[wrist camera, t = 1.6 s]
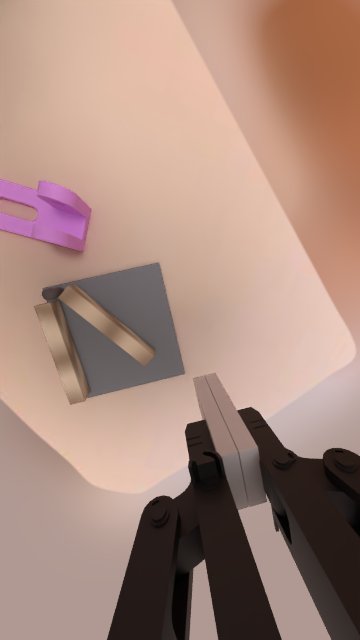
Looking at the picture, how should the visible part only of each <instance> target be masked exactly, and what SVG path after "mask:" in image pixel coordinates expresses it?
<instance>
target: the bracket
mask: <svg viewBox="0 0 360 640" xmlns="http://www.w3.org/2000/svg"><path fill="white" fill-rule="evenodd" d="M0 199H7V200H10V201H14V202H17V203H21V204H24V205H27V206H31V207H34V208H36V210H37V212H38V216H37V218H36V219H35V220H34V221H28V220H24V219H21V218H17V217H14V216H10V215H7V214H3V213H0V229H2V230H6V231H9V232H13V233H17V234H20V235H24V236H27V237H31V238H35V239H38V240H42V241H46V242H49V243H53V244H57V245H60V246H64V247H67V248H71V249H75V250H78V251H82V252H83V251H84V245H85V240H86V234H87V229H88V224H89V218H90V213H91V208H90V207H89V206H88V205H87V204H86V203H85V202H84V201H83V200H82V199H81V198H80V197H79V196H78V195H77V194H75V193H74V192H72V191H70V190H68V189H66V188H64V187H62V186H59V185H57V184H54V183H51V182H47V181H39V185H38V190H35V189H31V188H28V187H25V186H22V185H18V184H15V183H12V182H8V181H5V180H2V179H0Z"/></svg>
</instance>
